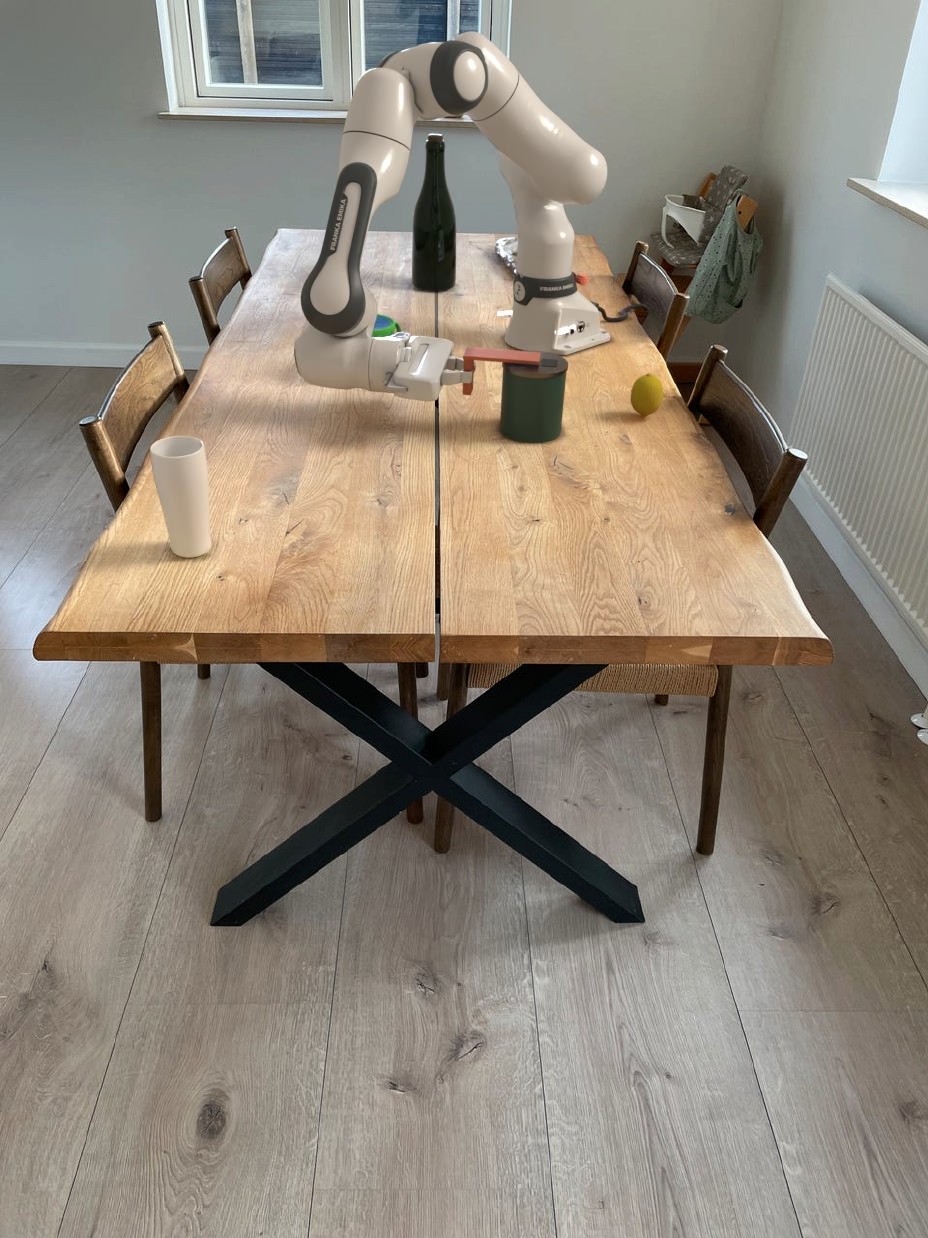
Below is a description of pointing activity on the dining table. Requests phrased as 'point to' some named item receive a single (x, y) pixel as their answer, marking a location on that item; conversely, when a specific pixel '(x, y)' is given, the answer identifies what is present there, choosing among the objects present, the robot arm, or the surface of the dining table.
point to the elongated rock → (508, 252)
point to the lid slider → (495, 360)
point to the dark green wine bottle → (434, 225)
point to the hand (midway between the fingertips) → (473, 371)
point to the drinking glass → (183, 493)
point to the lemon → (646, 395)
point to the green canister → (533, 399)
